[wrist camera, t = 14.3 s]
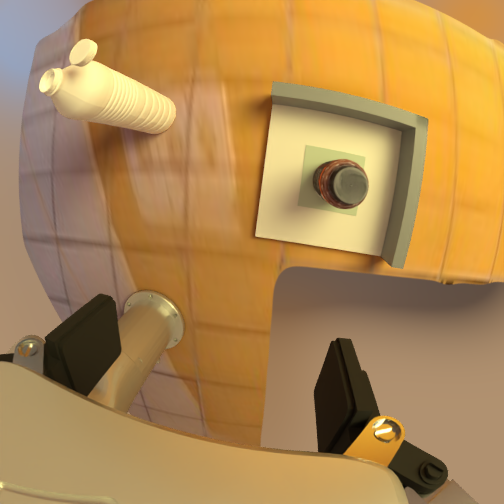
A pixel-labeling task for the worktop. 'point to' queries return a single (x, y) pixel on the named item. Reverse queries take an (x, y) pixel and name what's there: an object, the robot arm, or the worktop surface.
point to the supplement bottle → (341, 183)
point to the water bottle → (105, 94)
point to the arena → (333, 148)
